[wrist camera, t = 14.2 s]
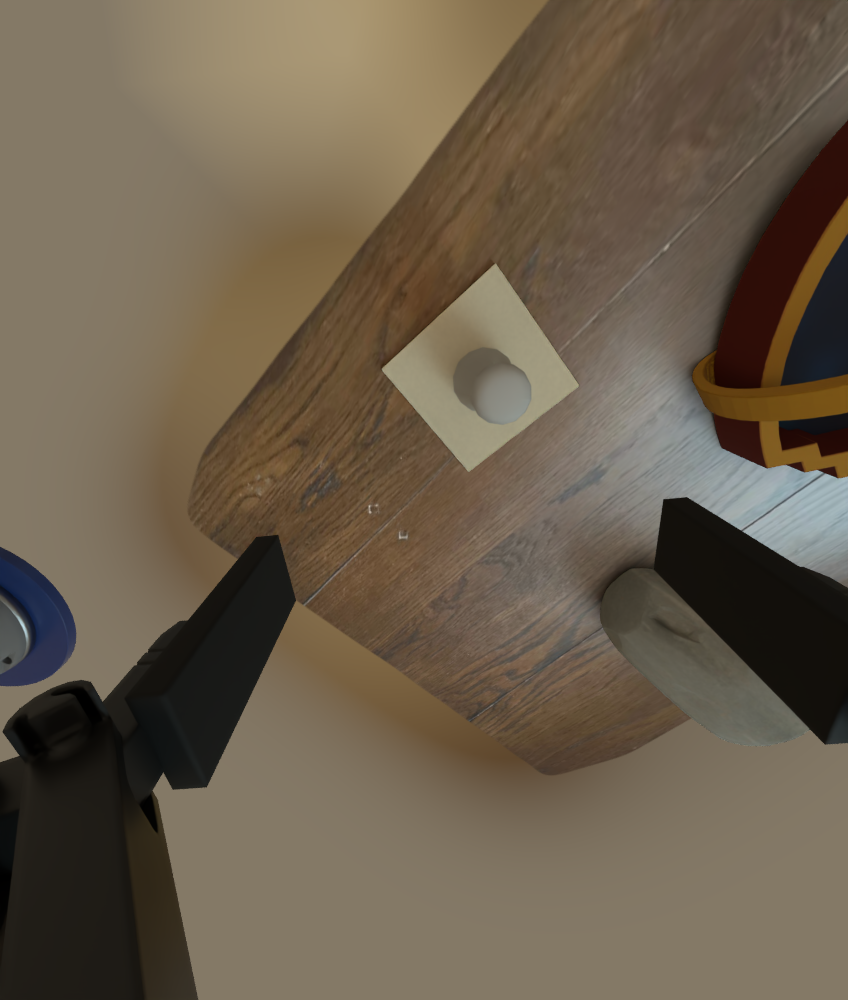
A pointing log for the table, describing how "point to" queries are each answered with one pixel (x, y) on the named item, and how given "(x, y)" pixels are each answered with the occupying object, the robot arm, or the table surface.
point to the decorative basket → (790, 333)
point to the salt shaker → (492, 386)
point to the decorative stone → (692, 662)
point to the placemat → (464, 328)
